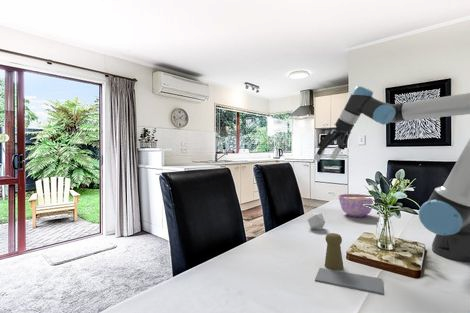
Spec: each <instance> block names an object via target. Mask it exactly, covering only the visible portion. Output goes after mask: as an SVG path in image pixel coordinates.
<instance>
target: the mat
mask: <svg viewBox="0 0 470 313" xmlns="http://www.w3.org/2000/svg"><path fill="white" fill-rule="evenodd" d="M314 282H319V283H324V284H330V285H334V286H339V287H345V288H349V289H355V290H360V291H365V292H370V293H373V294H379V295H383V296H384V286H383V279H382V277H381V278H380V277H375V276H369V275H364V274H359V273H358V274H357V273H353V272H352V273H351V272H346V271H342V270H331V269H328V268H326V267H325V268H324V267H319V269H318V271H317V274H316V275H315V279H314Z"/></svg>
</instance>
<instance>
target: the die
mask: <svg viewBox="0 0 470 313" xmlns="http://www.w3.org/2000/svg"><path fill="white" fill-rule="evenodd" d="M307 223H308V225H309V227H310V230H319V231H322V230H323V228H324V225H325V224H326V221H325V218H324V215H323V213H322V212H321V213H320V212H319V213H318V212H311V213H310V214H309V215H308V218H307Z"/></svg>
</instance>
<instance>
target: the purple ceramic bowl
mask: <svg viewBox="0 0 470 313" xmlns="http://www.w3.org/2000/svg"><path fill="white" fill-rule="evenodd" d="M364 196H368V194H360V193H357V194H356V193H344V194H340V195H338V201H339V204H340V208H341V210H342V211H343V213H345V214H347V215H348V216H350V217H354V218H362V217H364V216H368V215H369V214H370V213H371V212H372V209H373V207H372V208H369V207H366V206H363V204H373V205H374V202H373V201H372V199H371V198H362V197H364Z"/></svg>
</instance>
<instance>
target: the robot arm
mask: <svg viewBox="0 0 470 313" xmlns="http://www.w3.org/2000/svg"><path fill="white" fill-rule="evenodd" d="M373 94H374V92H373V90H371V89H369V88H366V87H364V86H359V85H358V86H356V87H355V88H354V90H353V91H352V93H351V94H350V97H349V99H348V100H347V103H346V104H345V106H344V108H343V109H342V110H341V112H340V115H339V118H337V120H336V122H335V123H334V125H335V129H333V128H330V130H329V131H328V133H326V135H324V137H323V138H322V140H321V141H320V142H319V143H318V144H317V147H319V148H318V150H317V152H316V153H315V155H314V157H313V160H315V161H316V162H317V163H319V162H320V160H321V159H322V157H323V155H324V154H325V152H326V148H329V146H330V145H331V144H333V142H335V141H337V146H335V148H334V150H333V152H332V153H331V155H330V156H329V157H330V159H332V160H333V161H336V160H337V158H338V156H339V154H340V152H341V151H344V150H345V148H347V144H348V141H349V138H350V135H351V133H352V130H353V128H354V127H355V124H356V123H357V121H358V120H359V118H360V116H361V114H363V115H364V116H366V117H368V118H370V119H371V120H373V121H375V123H379V124H381V125H383V126H384V125H387V124H389V123H393V124H394V123H400V122H406V121H415V120H423V119H424V120H425V119H435V118H443V117H456V116H466V115H470V92H465V93H460V94H454V95H447V96H442V97H435V98H427V99H421V100H414V101H413V100H412V101H409V102H401V103H395V104H393V103H388V102H385V101H381V100H379V99H376V98H375V97H373ZM418 218H419V221H420V223H421V224H422V225H423V227H424V228H425V229H427V230H428V231H430V233H433V234H435V237H434V238H433V241H432V243H431V250H432V252H433V253H435V254H437V255H438V256H441V257H444V258H447V259H450V260H451V259H452V260H454V261H455V260H456V261H460V262H465V263H466V262H468V263H470V138H469V139H468V141H467V142H466V145H465V146H464V148H463V150H461V153H460V155H459V157H458V159H457V160H456V162H455V164H454V166H453V167H452V169H451V171H450V173H449V175H448V177H447V178H446V180H445V181H444V183H443V185H442V186H438V187H435V188H434V190H433V192H432V193H431V195H430V196H429V199H428V200H427V201H425V202H424V203H423V204H422V205H421V206H420V207H419V210H418Z"/></svg>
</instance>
